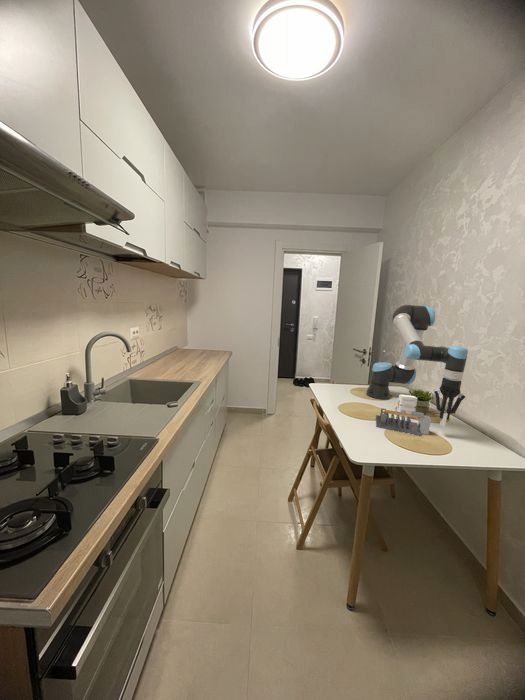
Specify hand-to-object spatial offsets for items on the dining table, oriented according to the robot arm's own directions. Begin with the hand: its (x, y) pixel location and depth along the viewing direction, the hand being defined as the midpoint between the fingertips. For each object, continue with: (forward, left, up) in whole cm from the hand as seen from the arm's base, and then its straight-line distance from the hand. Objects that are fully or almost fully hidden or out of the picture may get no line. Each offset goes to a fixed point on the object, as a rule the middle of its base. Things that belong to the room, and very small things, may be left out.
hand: (442, 425), depth 138 cm
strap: (0, -20, +1) cm, 19 cm away
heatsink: (0, -20, -6) cm, 21 cm away
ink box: (-20, -14, -6) cm, 25 cm away
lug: (0, -10, -5) cm, 11 cm away
